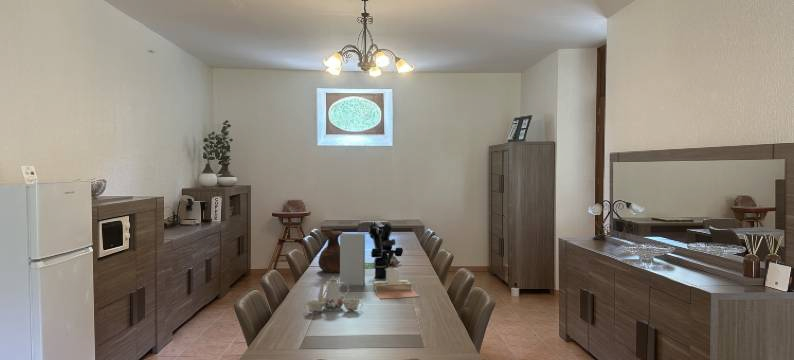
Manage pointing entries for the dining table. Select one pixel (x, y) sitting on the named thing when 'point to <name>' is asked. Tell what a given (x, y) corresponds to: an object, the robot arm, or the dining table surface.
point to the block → (392, 276)
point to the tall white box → (352, 259)
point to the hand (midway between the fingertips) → (389, 264)
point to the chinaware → (332, 299)
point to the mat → (396, 294)
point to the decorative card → (393, 264)
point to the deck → (391, 286)
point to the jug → (331, 252)
